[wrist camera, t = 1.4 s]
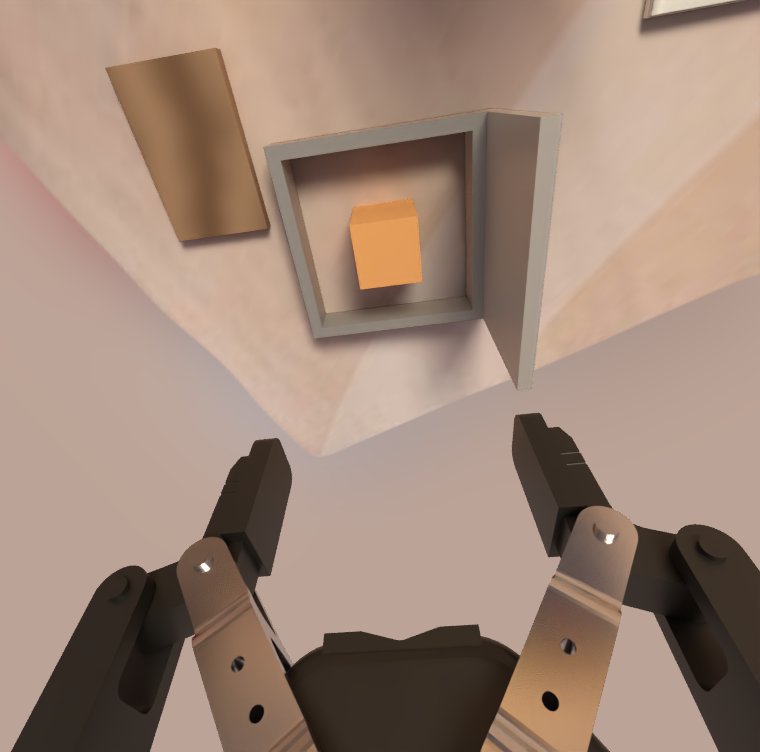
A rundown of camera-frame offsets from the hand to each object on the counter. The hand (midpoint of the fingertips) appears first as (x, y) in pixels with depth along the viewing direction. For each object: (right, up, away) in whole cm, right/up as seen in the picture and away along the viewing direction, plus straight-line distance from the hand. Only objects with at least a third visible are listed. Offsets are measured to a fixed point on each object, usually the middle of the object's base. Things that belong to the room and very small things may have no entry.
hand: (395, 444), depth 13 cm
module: (0, +15, +21) cm, 26 cm away
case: (0, +15, +21) cm, 26 cm away
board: (-15, +20, +18) cm, 31 cm away
